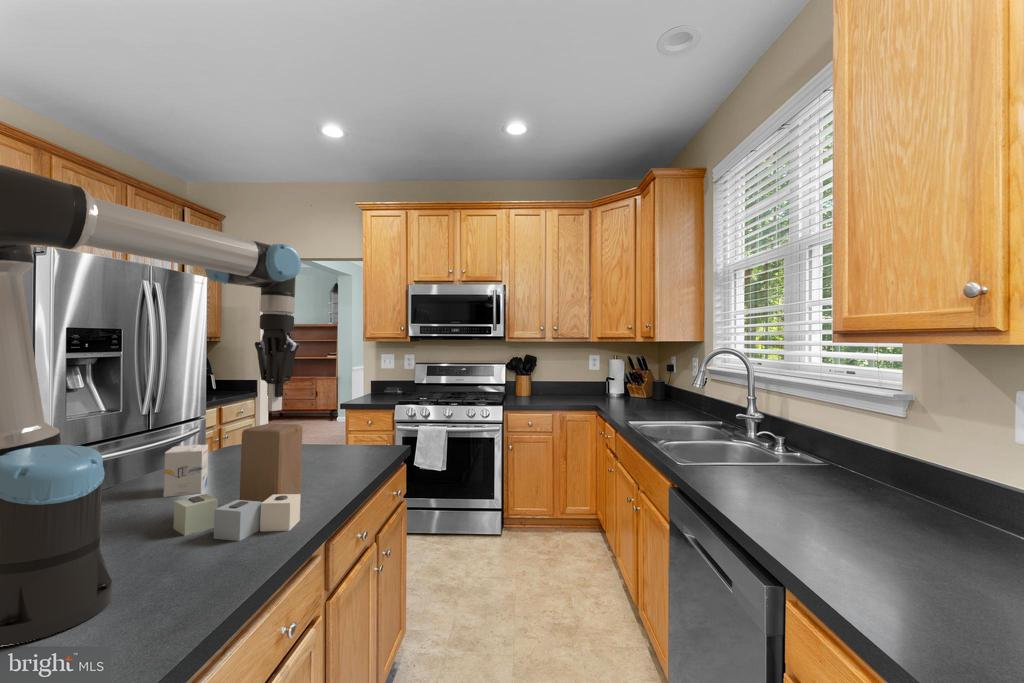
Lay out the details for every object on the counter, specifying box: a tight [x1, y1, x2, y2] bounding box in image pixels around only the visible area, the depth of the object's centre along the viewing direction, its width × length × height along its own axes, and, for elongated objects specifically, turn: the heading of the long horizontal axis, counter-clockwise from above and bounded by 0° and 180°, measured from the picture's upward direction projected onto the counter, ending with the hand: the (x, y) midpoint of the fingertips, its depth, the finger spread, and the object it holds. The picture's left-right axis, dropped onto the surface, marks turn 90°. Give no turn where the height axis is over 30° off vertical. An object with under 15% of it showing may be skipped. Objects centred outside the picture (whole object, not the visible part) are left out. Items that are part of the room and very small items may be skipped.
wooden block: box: [239, 423, 304, 502], centre depth 108 cm, size 10×10×20 cm
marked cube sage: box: [173, 493, 219, 537], centre depth 96 cm, size 6×6×6 cm
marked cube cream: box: [259, 493, 302, 532], centre depth 98 cm, size 6×6×6 cm
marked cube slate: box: [213, 499, 262, 542], centre depth 94 cm, size 6×6×6 cm
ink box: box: [162, 443, 209, 498], centre depth 121 cm, size 9×8×12 cm
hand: (274, 410), depth 109 cm, fingers closed
